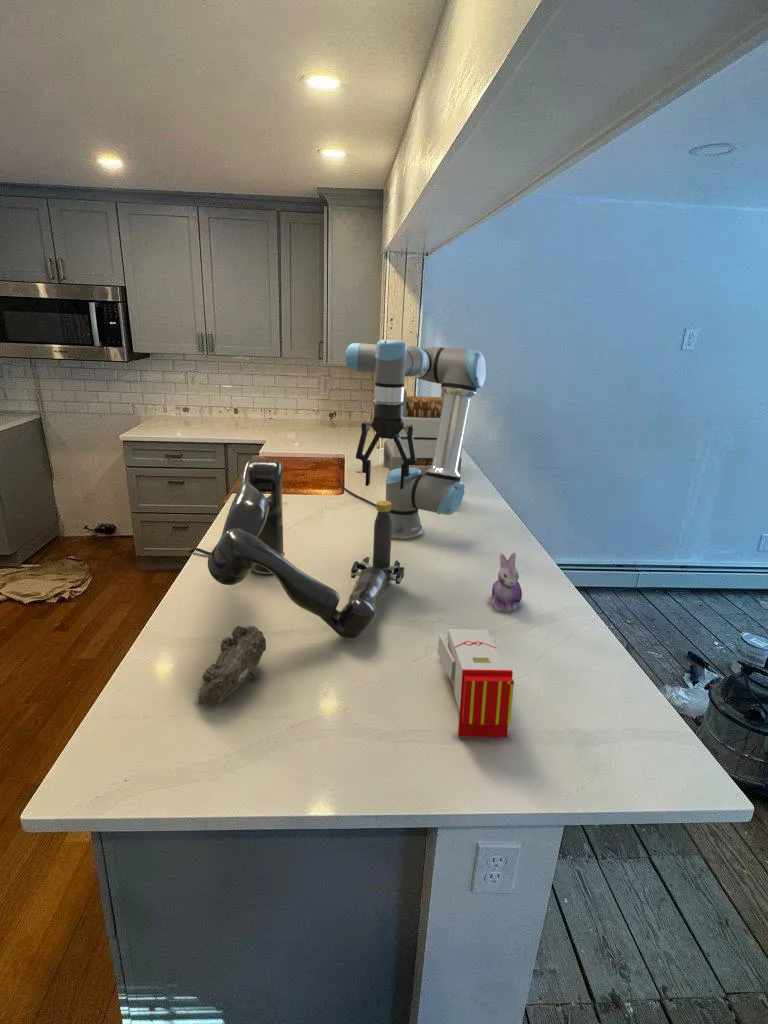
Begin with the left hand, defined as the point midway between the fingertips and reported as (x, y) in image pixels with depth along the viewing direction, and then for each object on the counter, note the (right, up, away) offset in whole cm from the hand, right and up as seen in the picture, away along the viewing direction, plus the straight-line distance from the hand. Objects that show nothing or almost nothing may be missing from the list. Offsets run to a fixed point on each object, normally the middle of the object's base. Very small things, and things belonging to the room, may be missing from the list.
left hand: (382, 561), depth 163 cm
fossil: (-31, -21, -43) cm, 57 cm away
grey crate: (+18, +33, +112) cm, 118 cm away
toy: (+18, -23, -45) cm, 54 cm away
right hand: (+1, +21, -10) cm, 23 cm away
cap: (0, +16, -8) cm, 18 cm away
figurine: (+34, -11, -9) cm, 36 cm away
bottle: (-1, -6, 0) cm, 6 cm away
